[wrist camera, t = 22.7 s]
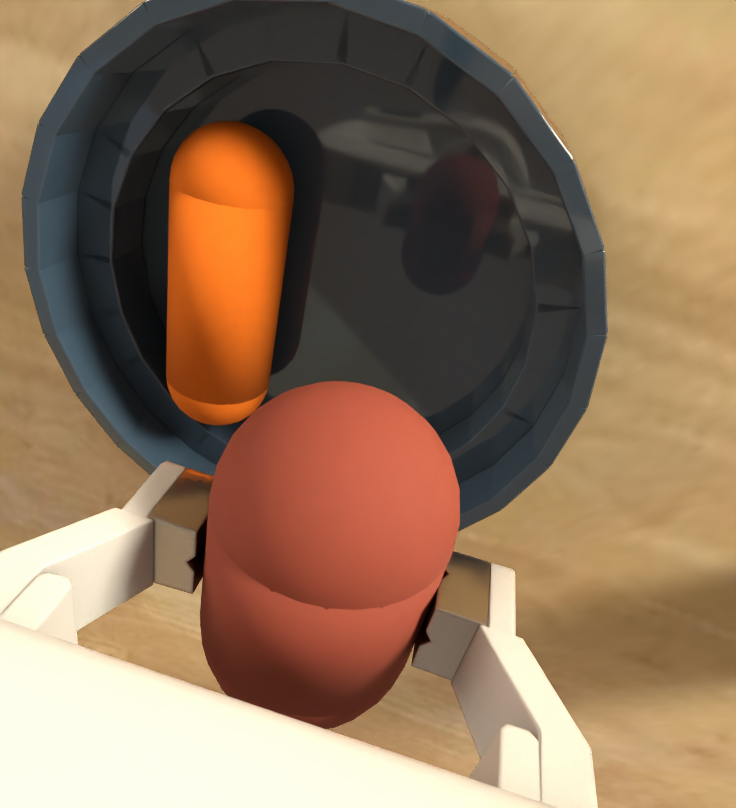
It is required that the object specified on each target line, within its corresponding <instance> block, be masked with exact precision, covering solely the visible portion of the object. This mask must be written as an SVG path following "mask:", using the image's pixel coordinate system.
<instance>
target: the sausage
mask: <svg viewBox="0 0 736 808" xmlns="http://www.w3.org/2000/svg"><path fill="white" fill-rule="evenodd" d="M459 525H460V489H459V485H458V481H457V478H456V474H455V470H454V467H453V464H452V460H451V457H450V455H449V453H448V452H447V450H446V448H445V446H444V445H443V443H442V441H441V439H440V438H439V436H438V435H437V433H436V431H435V430H434V429H433V427H432V426H431V425H430V424H429V423H428V422H427V420H426V419H424V418H423V417H422V416H421V415H420V414H419V413H418V412H416V411H415V410H414V409H413V408H412V407H410V406H409V405H408V404H407V403H406V402H404V401H402V400H401V399H399V398H398V397H396V396H394V395H392V394H390V393H388V392H386V391H384V390H381V389H378V388H375V387H372V386H369V385H364V384H360V383H354V382H347V381H327V382H318V383H314V384H310V385H306V386H301V387H297V388H294V389H291V390H289V391H286V392H284V393H282V394H280V395H278V396H277V397H275V398H273V399H272V400H270V401H269V402H267V403H265V404H264V405H262V406H261V407H259V408H258V409H256V410H255V411H254V412H253V413H252V414H251V415H250V416H249V418H248V419H247V420H246V421H245V422H244V423H243V424H242V425H241V426H240V427H239V428H238V429H237V430H236V432H235V433H234V434H233V435H232V437H231V439H230V441H229V443H228V444H227V446H226V448H225V450H224V452H223V454H222V456H221V458H220V460H219V462H218V464H217V465H216V470H215V475H214V479H213V484H212V487H211V491H210V497H209V507H208V519H207V532H206V545H205V558H204V570H203V583H202V596H201V609H200V626H201V635H202V645H203V648H204V652H205V655H206V659H207V662H208V665H209V666H210V668H211V670H212V672H213V674H214V676H215V677H216V679H217V681H218V683H219V685H220V686H221V688H222V690H223V691H224V692H225V693H226V694H227V696H229V697H232V698H235V699H238V700H241V701H244V702H247V703H250V704H253V705H256V706H259V707H262V708H265V709H268V710H271V711H273V712H276V713H279V714H282V715H285V716H288V717H291V718H294V719H297V720H300V721H303V722H306V723H309V724H312V725H315V726H318V727H321V728H324V729H329V728H334V727H337V726H339V725H342V724H344V723H347V722H349V721H352V720H353V719H355V718H356V717H358V716H359V715H361V714H362V713H364V712H365V711H367V710H368V709H370V708H371V707H372V706H374V705H375V704H377V703H378V702H379V701H380V700H381V699H382V697H383V696H384V695H385V694H386V693H387V692H388V691H389V690H390V689H391V687H392V686H393V684H394V683H395V681H396V680H397V678H398V676H399V675H400V673H401V672H402V670H403V668H404V667H405V664H406V662H407V660H408V657H409V655H410V653H411V650H412V648H413V646H414V643H415V641H416V638H417V636H418V634H419V631H420V629H421V626H422V624H423V622H424V619H425V617H426V615H427V612H428V610H429V607H430V605H431V603H432V600H433V598H434V596H435V593H436V591H437V589H438V586H439V584H440V581H441V579H442V577H443V574H444V572H445V570H446V567H447V565H448V563H449V560H450V558H451V555H452V553H453V549H454V544H455V540H456V536H457V533H458V529H459Z"/></svg>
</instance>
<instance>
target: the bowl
mask: <svg viewBox="0 0 736 808" xmlns="http://www.w3.org/2000/svg"><path fill="white" fill-rule="evenodd" d="M217 121H237V122H242V123H246V124H248V125H250V126H253V127H255V128H257V129H259V130H261V131H262V132H263V133H265V134H266V135H267V136H269V137H270V138H271V139H272V140H273V141H274V142H275V143H276V144H277V145H278V147H279V148H280V149H281V151H282V152H283V154H284V156H285V157H286V159H287V161H288V163H289V166H290V169H291V172H292V175H293V182H294V202H293V209H292V217H291V224H290V232H289V239H288V247H287V254H286V262H285V269H284V276H283V284H282V291H281V299H280V306H279V314H278V321H277V329H276V336H275V344H274V351H273V359H272V366H271V374H270V381H269V386H268V390H267V393H266V395H265V397H264V399H263V401H262V403H261V404H260V406H259V407H261V406H262V405H264V404H265V403H267V402H269V401H270V400H272V399H273V398H275V397H277V396H278V395H280V394H282V393H284V392H286V391H289V390H291V389H294V388H297V387H301V386H306V385H310V384H314V383H318V382H327V381H347V382H354V383H360V384H364V385H369V386H372V387H375V388H378V389H381V390H384V391H386V392H388V393H390V394H392V395H394V396H396V397H398V398H399V399H401V400H402V401H404V402H406V403H407V404H408V405H409V406H410V407H412V408H413V409H414V410H415V411H416V412H418V413H419V414H420V415H421V416H422V417H423V418H424V419H426V420H427V422H428V423H429V424H430V425H431V426H432V427H433V429H434V430H435V431H436V433H437V435H438V436H439V438H440V439H441V441H442V443H443V445H444V446H445V448H446V450H447V452H448V453H449V455H450V457H451V460H452V464H453V467H454V470H455V474H456V478H457V481H458V485H459V489H460V525H459V529H458V531H460V530H462V529H464V528H466V527H468V526H470V525H472V524H474V523H476V522H478V521H480V520H482V519H484V518H486V517H488V516H490V515H492V514H494V513H496V512H498V511H500V510H502V509H503V508H504V507H505V506H507V505H508V504H509V503H510V502H511V501H512V500H513V499H515V498H516V497H517V496H518V495H519V494H520V493H521V492H522V491H524V490H525V489H526V488H527V487H528V486H529V485H530V484H531V483H533V482H534V481H535V480H536V479H537V478H538V477H539V476H541V475H542V474H543V473H544V472H545V471H546V470H547V469H548V468H549V467H550V466H551V465H552V464H553V462H554V460H555V459H556V457H557V456H558V454H559V452H560V451H561V449H562V448H563V446H564V445H565V443H566V441H567V440H568V438H569V437H570V435H571V433H572V432H573V430H574V429H575V427H576V426H577V424H578V422H579V421H580V419H581V418H582V416H583V414H584V413H585V411H586V410H587V407H588V405H589V401H590V398H591V394H592V390H593V387H594V383H595V379H596V376H597V372H598V368H599V365H600V361H601V357H602V354H603V350H604V346H605V343H606V339H607V332H608V327H607V296H606V265H605V250H604V245H603V242H602V239H601V236H600V233H599V230H598V227H597V224H596V221H595V218H594V215H593V212H592V209H591V206H590V204H589V201H588V198H587V195H586V192H585V189H584V186H583V183H582V180H581V177H580V174H579V171H578V168H577V165H576V162H575V160H574V158H573V156H572V154H571V152H570V150H569V148H568V145H567V143H566V141H565V139H564V137H563V135H562V134H561V132H560V131H559V130H558V128H557V127H556V125H555V124H554V123H553V121H552V120H551V118H550V117H549V116H548V114H547V113H546V111H545V110H544V109H543V107H542V106H541V104H540V103H539V102H538V100H537V99H536V97H535V96H534V95H533V93H532V92H531V90H530V89H529V87H528V86H527V85H526V83H525V82H524V80H523V79H522V78H521V76H520V75H519V73H518V72H517V71H516V70H514V68H513V67H512V66H511V65H510V64H508V63H507V62H506V61H504V60H503V59H502V58H500V57H499V56H498V55H497V54H495V53H494V52H493V51H491V50H490V49H489V48H487V47H486V46H485V45H484V44H482V43H481V42H480V41H478V40H477V39H476V38H475V37H473V36H472V35H471V34H469V33H468V32H467V31H465V30H464V29H463V28H462V27H460V26H459V25H458V24H456V23H455V22H454V21H452V20H451V19H450V18H448V17H446V16H445V15H443V14H440V13H437V12H434V11H432V10H429V9H426V8H424V7H421V6H418V5H415V4H413V3H410V2H407V1H404V0H145V2H142V3H141V4H140V5H138V6H137V7H136V8H135V9H133V10H132V11H131V12H130V13H129V14H127V15H126V16H125V17H124V18H123V19H121V20H120V21H119V22H118V23H116V24H115V25H114V26H113V27H112V28H110V29H109V30H108V31H107V32H106V33H104V34H103V35H102V36H101V37H99V38H98V39H97V40H96V41H95V42H93V43H92V44H91V45H90V46H88V47H87V48H86V49H85V50H84V51H82V52H81V53H80V55H79V56H77V58H76V60H75V61H74V63H73V65H72V66H71V68H70V70H69V71H68V73H67V75H66V77H65V78H64V80H63V82H62V83H61V85H60V87H59V88H58V90H57V92H56V93H55V95H54V97H53V98H52V100H51V102H50V103H49V105H48V107H47V108H46V110H45V112H44V113H43V115H42V117H41V118H40V120H39V123H38V125H37V129H36V134H35V138H34V142H33V147H32V151H31V155H30V160H29V164H28V168H27V173H26V177H25V181H24V186H23V190H22V219H23V242H24V265H25V271H26V275H27V278H28V282H29V285H30V289H31V292H32V296H33V299H34V303H35V306H36V310H37V313H38V317H39V320H40V324H41V327H42V331H43V334H45V338H46V340H47V341H48V343H49V345H50V347H51V349H52V351H53V353H54V355H55V357H56V359H57V360H58V362H59V364H60V366H61V368H62V370H63V372H64V374H65V376H66V378H67V379H68V381H69V383H70V385H71V387H72V389H73V391H74V392H75V393H76V396H77V397H78V398H79V399H80V401H81V402H82V403H83V404H84V406H85V407H86V408H87V409H88V411H89V412H90V413H91V414H92V416H93V417H94V418H95V419H96V421H97V422H98V423H99V424H100V426H101V427H102V428H103V429H104V431H105V432H106V433H107V434H108V436H109V437H110V438H111V439H112V441H113V442H114V443H115V444H116V445H117V446H118V447H119V448H120V449H121V450H122V451H123V452H125V453H126V454H127V455H128V456H129V457H130V458H131V459H133V460H134V461H135V462H136V463H137V464H138V465H139V466H141V467H142V468H143V469H144V470H145V471H146V472H147V473H149V474H150V475H151V474H152V473H153V472H154V471H155V470H156V468H157V467H158V466H159V465H160V464H162V463H163V462H165V461H169V462H172V463H175V464H178V465H181V466H184V467H186V468H191V469H194V470H197V471H200V472H203V473H206V474H209V475H212V476H214V475H215V470H216V465H217V464H218V462H219V460H220V458H221V456H222V454H223V452H224V450H225V448H226V446H227V444H228V443H229V441H230V439H231V437H232V435H233V434H234V433H235V432H236V430H237V429H238V428H239V427H240V426H241V425H242V424H243V423H244V422H245V421H246V420H247V419H248V418H249V416H250V415H249V416H248V417H246V418H244V419H243V420H241V421H239V422H236V423H233V424H228V425H209V424H205V423H201V422H199V421H196V420H194V419H192V418H190V417H189V416H188V415H186V414H185V413H184V412H183V411H182V410H180V409H179V407H178V406H177V405H176V403H175V402H174V400H173V399H172V397H171V394H170V391H169V389H168V386H167V379H166V350H167V291H168V231H169V179H170V170H171V164H172V161H173V158H174V156H175V153H176V151H177V150H178V148H179V147H180V145H181V143H182V142H183V141H184V140H185V139H186V138H187V137H188V136H189V135H190V134H191V133H192V132H194V131H195V130H197V129H198V128H200V127H202V126H204V125H207V124H210V123H213V122H217ZM259 407H258V408H259ZM258 408H257V409H258Z"/></svg>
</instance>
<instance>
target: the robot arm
mask: <svg viewBox="0 0 736 808" xmlns="http://www.w3.org/2000/svg"><path fill="white" fill-rule="evenodd" d="M213 479H214V476H212V475H209V474H206V473H203V472H200V471H197V470H194V469H191V468H186V467H184V466H181V465H178V464H175V463H172V462H169V461H165V462H163V463H162V464H160V465H159V466H158V467H157V468H156V470H155V471H154V472H153V473H152V474H151V475H150V477H149V478H148V479H147V480H146V481H145V482H144V484H143V485H142V486H141V487H140V488H139V490H138V491H137V492H136V493H135V494H134V495H133V497H132V498H131V499H130V500H129V501H128V502H127V504H126V505H125V506H124V507H123V508H122V509H118V508H112V509H110V510H107V511H104V512H102V513H99V514H97V515H94V516H91V517H89V518H86V519H83V520H81V521H78V522H76V523H73V524H70V525H68V526H65V527H62V528H60V529H57V530H54V531H52V532H49V533H47V534H44V535H41V536H39V537H36V538H33V539H31V540H28V541H26V542H23V543H20V544H18V545H15V546H12V547H10V548H7V549H5V550H2V551H0V808H598V806H597V797H596V788H595V778H594V769H593V759H592V750H591V748H590V747H589V745H588V744H587V742H586V740H585V739H584V737H583V735H582V734H581V732H580V731H579V729H578V727H577V726H576V724H575V722H574V721H573V719H572V718H571V716H570V714H569V713H568V711H567V709H566V708H565V706H564V705H563V703H562V701H561V700H560V698H559V696H558V695H557V693H556V692H555V690H554V688H553V687H552V685H551V684H550V682H549V680H548V679H547V677H546V675H545V674H544V672H543V671H542V669H541V667H540V666H539V664H538V662H537V661H536V659H535V658H534V656H533V654H532V653H531V651H530V649H529V648H528V646H527V645H526V643H525V641H524V640H523V638H520V637H517V636H516V613H515V572H514V570H513V569H510V568H507V567H504V566H500V565H497V564H494V563H488V562H487V561H484V560H480V559H477V558H474V557H470V556H467V555H464V554H460V553H457V552H454V551H453V553H452V555H451V558H450V560H449V563H448V565H447V567H446V570H445V572H444V574H443V577H442V579H441V581H440V584H439V586H438V589H437V591H436V593H435V596H434V598H433V600H432V603H431V605H430V607H429V610H428V612H427V615H426V617H425V619H424V622H423V624H422V626H421V629H420V631H419V634H418V636H417V638H416V641H415V645H414V651H413V657H412V664H411V666H413V667H416V668H419V669H421V670H424V671H427V672H430V673H432V674H435V675H438V676H441V677H444V678H446V679H449V680H452V681H451V684H452V686H453V689H454V691H455V694H456V697H457V699H458V702H459V704H460V707H461V710H462V712H463V715H464V717H465V720H466V722H467V725H468V728H469V730H470V733H471V735H472V738H473V741H474V743H475V746H476V748H477V751H478V754H479V756H480V759H481V760H480V761H479V763H478V764H477V766H476V767H475V769H474V770H473V772H472V773H471V775H470V776H469V777H466V776H463V775H460V774H457V773H454V772H451V771H448V770H445V769H442V768H439V767H436V766H433V765H430V764H427V763H424V762H421V761H418V760H416V759H413V758H410V757H407V756H404V755H401V754H398V753H395V752H392V751H389V750H386V749H383V748H380V747H377V746H374V745H371V744H368V743H365V742H362V741H359V740H356V739H353V738H350V737H347V736H344V735H342V734H339V733H336V732H333V731H330V730H327V729H324V728H321V727H318V726H315V725H312V724H309V723H306V722H303V721H300V720H297V719H294V718H291V717H288V716H285V715H282V714H279V713H276V712H273V711H271V710H268V709H265V708H262V707H259V706H256V705H253V704H250V703H247V702H244V701H241V700H238V699H235V698H232V697H229V696H226V695H224V694H221V693H218V692H215V691H212V690H209V689H206V688H203V687H200V686H197V685H194V684H191V683H188V682H185V681H182V680H180V679H177V678H174V677H171V676H168V675H165V674H162V673H159V672H156V671H153V670H150V669H147V668H144V667H141V666H138V665H135V664H132V663H129V662H127V661H124V660H121V659H118V658H115V657H112V656H109V655H106V654H103V653H100V652H97V651H94V650H91V649H88V648H85V647H82V646H79V645H78V640H77V631H78V630H79V629H81V628H83V627H84V626H86V625H87V624H89V623H91V622H92V621H94V620H96V619H97V618H99V617H101V616H102V615H104V614H106V613H107V612H109V611H110V610H112V609H114V608H115V607H117V606H119V605H120V604H122V603H124V602H125V601H127V600H129V599H130V598H132V597H133V596H135V595H137V594H138V593H140V592H142V591H143V590H145V589H147V588H148V587H150V586H152V585H153V582H154V583H157V584H161V585H164V586H167V587H171V588H174V589H177V590H181V591H184V592H187V593H191V594H193V592H194V591H195V589H196V587H197V586H198V584H199V582H200V581H201V579H202V577H203V570H204V558H205V545H206V532H207V519H208V507H209V497H210V491H211V487H212V484H213Z"/></svg>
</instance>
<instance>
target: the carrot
mask: <svg viewBox="0 0 736 808" xmlns="http://www.w3.org/2000/svg"><path fill="white" fill-rule="evenodd" d="M293 202H294V182H293V175H292V172H291V169H290V166H289V163H288V161H287V159H286V157H285V156H284V154H283V152H282V151H281V149H280V148H279V147H278V145H277V144H276V143H275V142H274V141H273V140H272V139H271V138H270V137H269V136H267V135H266V134H265V133H263V132H262V131H261V130H259V129H257V128H255V127H253V126H250V125H248V124H246V123H242V122H237V121H217V122H213V123H210V124H207V125H204V126H202V127H200V128H198V129H197V130H195V131H194V132H192V133H191V134H190V135H189V136H188V137H187V138H186V139H185V140H184V141H183V142H182V143H181V145H180V147H179V148H178V150H177V151H176V153H175V156H174V158H173V161H172V164H171V170H170V179H169V231H168V291H167V350H166V379H167V386H168V389H169V391H170V394H171V397H172V399H173V400H174V402H175V403H176V405H177V406H178V407H179V409H180V410H182V411H183V412H184V413H185V414H186V415H188V416H189V417H190V418H192V419H194V420H196V421H199V422H201V423H205V424H209V425H228V424H233V423H236V422H239V421H241V420H243V419H244V418H246V417H248V416H249V415H251V414H252V413H253V412H254V411H255V410H256V409H257V408H258V407H259V406H260V404H261V403H262V401H263V399H264V397H265V395H266V393H267V390H268V386H269V381H270V374H271V366H272V359H273V351H274V344H275V336H276V329H277V321H278V314H279V306H280V299H281V291H282V284H283V276H284V269H285V262H286V254H287V247H288V239H289V232H290V224H291V217H292V209H293Z"/></svg>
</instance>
